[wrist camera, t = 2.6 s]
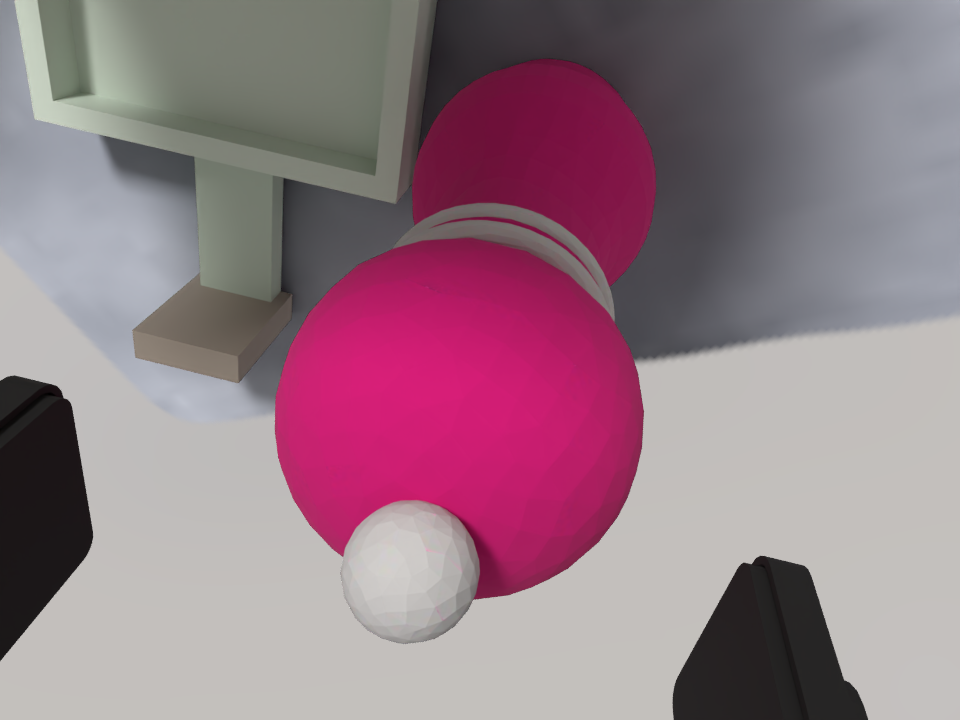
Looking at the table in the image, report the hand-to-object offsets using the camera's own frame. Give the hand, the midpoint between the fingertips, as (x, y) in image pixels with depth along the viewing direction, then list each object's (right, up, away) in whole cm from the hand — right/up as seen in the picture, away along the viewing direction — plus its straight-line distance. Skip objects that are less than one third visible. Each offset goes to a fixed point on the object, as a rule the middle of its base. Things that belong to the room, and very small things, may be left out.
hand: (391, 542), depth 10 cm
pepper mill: (+4, +10, +15) cm, 19 cm away
